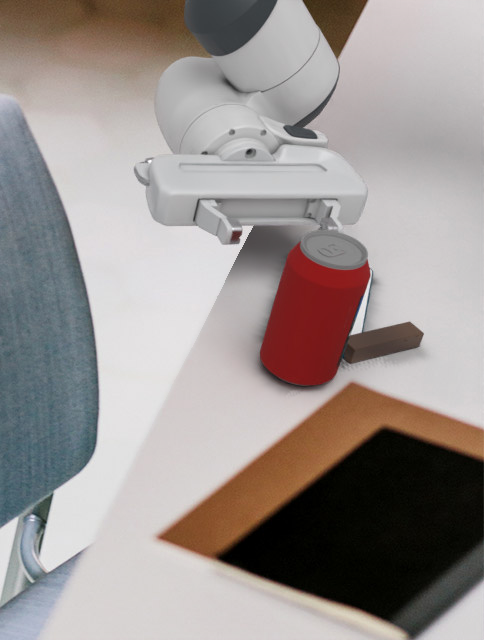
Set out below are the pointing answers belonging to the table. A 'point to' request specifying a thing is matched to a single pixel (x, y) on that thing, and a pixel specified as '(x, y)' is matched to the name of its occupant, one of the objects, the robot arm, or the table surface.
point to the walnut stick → (382, 342)
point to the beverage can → (315, 307)
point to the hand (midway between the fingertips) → (284, 237)
